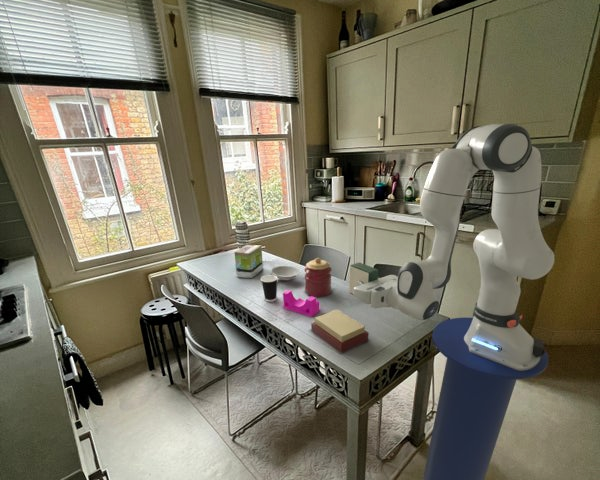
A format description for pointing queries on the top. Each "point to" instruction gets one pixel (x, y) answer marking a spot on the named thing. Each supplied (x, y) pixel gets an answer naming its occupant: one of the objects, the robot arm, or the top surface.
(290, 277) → the dish
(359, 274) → the book
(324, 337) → the book stack
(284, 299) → the toy block
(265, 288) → the dixie cup
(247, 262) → the tea box
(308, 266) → the kitchen canister
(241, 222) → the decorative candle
